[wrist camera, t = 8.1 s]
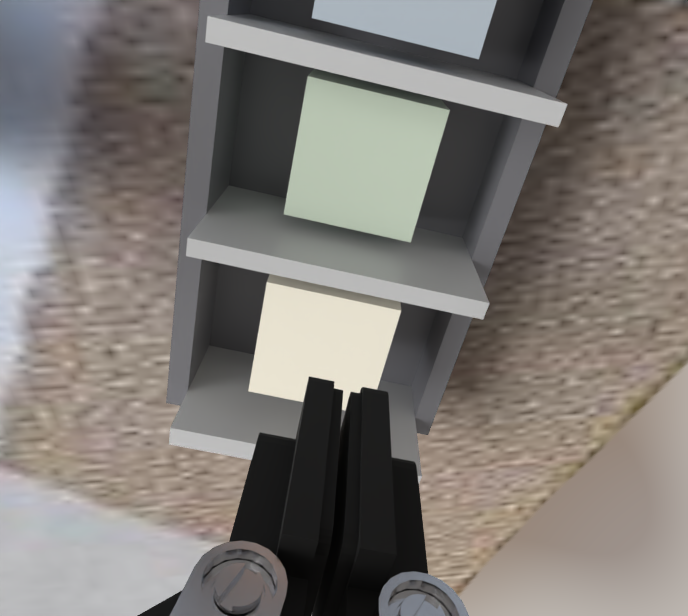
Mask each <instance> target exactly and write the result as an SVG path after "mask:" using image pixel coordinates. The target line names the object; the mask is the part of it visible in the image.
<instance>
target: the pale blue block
mask: <svg viewBox="0 0 688 616" xmlns="http://www.w3.org/2000/svg"><path fill="white" fill-rule="evenodd" d="M496 2H497V0H315V2H314V8H313V13H312V18H314V19H318V20H322V21H326V22H330V23H334V24H338V25H342V26H346V27H350V28H354V29H358V30H362V31H366V32H370V33H375V34H379V35H383V36H387V37H391V38H395V39H399V40H403V41H407V42H411V43H415V44H419V45H423V46H427V47H431V48H435V49H439V50H443V51H447V52H451V53H455V54H459V55H463V56H467V57H471V58H476V59H479V57H480V54H481V50H482V47H483V44H484V41H485V37H486V34H487V31H488V28H489V24H490V21H491V18H492V15H493V11H494V8H495V5H496Z"/></svg>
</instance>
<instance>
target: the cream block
mask: <svg viewBox="0 0 688 616" xmlns="http://www.w3.org/2000/svg"><path fill="white" fill-rule="evenodd" d="M400 314H401V303H400V302H398V301H394V300H389V299H384V298H380V297H375V296H370V295H366V294H361V293H356V292H352V291H347V290H342V289H338V288H333V287H328V286H324V285H319V284H314V283H310V282H305V281H300V280H296V279H291V278H286V277H282V276H277V275H272V274H270V275H269V277H268V280H267V284H266V290H265V296H264V301H263V307H262V313H261V319H260V325H259V331H258V337H257V343H256V348H255V354H254V360H253V366H252V372H251V378H250V384H249V390H248V391H249V392H254V393H259V394H264V395H269V396H275V397H280V398H285V399H290V400H295V401H300V402H303V401H304V397H305V392H306V387H307V383H308V378H309V376H310V377H315V378H320V379H325V380H330V381H334V388H335V389H340V390H343V402H342V410H345V411H346V407H347V403H348V399H349V396H350V393H351V392H355V393H360V390H361V388H362V387H366V388H371V389H376V390H377V388H378V385H379V382H380V378H381V375H382V372H383V369H384V365H385V362H386V359H387V356H388V353H389V349H390V346H391V343H392V340H393V336H394V333H395V330H396V327H397V323H398V320H399V317H400Z"/></svg>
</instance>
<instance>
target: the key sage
mask: <svg viewBox="0 0 688 616" xmlns="http://www.w3.org/2000/svg"><path fill="white" fill-rule="evenodd" d="M449 112H450V110H449V109H448V107H447V106H446V105H445V104H444V102H443V101H442V100H441V99H439V98H435V97H431V96H426V95H422V94H418V93H414V92H410V91H406V90H402V89H397V88H393V87H389V86H385V85H381V84H377V83H373V82H368V81H364V80H360V79H356V78H352V77H348V76H344V75H339V74H335V73H331V72H327V71H323V70H319V69H314V70H313V71H312V72H311V73H310V74H309V75H308V77H307V83H306V89H305V94H304V100H303V106H302V112H301V117H300V123H299V129H298V134H297V140H296V146H295V152H294V157H293V163H292V169H291V174H290V180H289V186H288V192H287V197H286V203H285V209H284V215H289V216H293V217H298V218H302V219H307V220H311V221H316V222H320V223H325V224H329V225H334V226H338V227H343V228H347V229H352V230H356V231H361V232H365V233H370V234H374V235H379V236H383V237H388V238H392V239H397V240H401V241H406V242H410V243H411V240H412V236H413V233H414V230H415V226H416V223H417V219H418V216H419V213H420V209H421V206H422V203H423V199H424V196H425V192H426V189H427V186H428V182H429V179H430V176H431V172H432V169H433V166H434V162H435V159H436V155H437V152H438V149H439V145H440V142H441V139H442V135H443V132H444V128H445V125H446V122H447V118H448V115H449Z"/></svg>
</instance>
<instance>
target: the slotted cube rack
mask: <svg viewBox="0 0 688 616" xmlns="http://www.w3.org/2000/svg"><path fill="white" fill-rule="evenodd" d="M314 2H315V0H200V5H199V17H198V29H197V41H196V53H195V65H194V77H193V89H192V101H191V113H190V125H189V137H188V149H187V161H186V172H185V184H184V196H183V208H182V220H181V232H180V244H179V256H178V268H177V280H176V292H175V304H174V316H173V328H172V340H171V352H170V364H169V376H168V388H167V400H166V403H170V404H175V405H180V409H179V411H178V413H177V415H176V417H175V419H174V421H173V423H172V425H171V428H170V438H169V444H170V445H175V446H181V447H186V448H191V449H196V450H201V451H207V452H212V453H217V454H222V455H228V456H233V457H238V458H243V459H249V460H252V457H253V453H254V449H255V446H256V442H257V439H258V435H259V433H260V432H261V433H266V434H272V435H277V436H282V437H287V438H293V439H296V434H297V430H298V425H299V420H300V415H301V411H302V406H303V402H300V401H295V400H290V399H285V398H280V397H275V396H269V395H264V394H259V393H254V392H249V391H248V390H249V384H250V378H251V372H252V366H253V360H254V354H255V348H256V343H257V337H258V331H259V325H260V319H261V313H262V307H263V301H264V296H265V290H266V284H267V280H268V277H269V275H270V274H272V275H277V276H282V277H286V278H291V279H296V280H300V281H305V282H310V283H314V284H319V285H324V286H328V287H333V288H338V289H342V290H347V291H352V292H356V293H361V294H366V295H370V296H375V297H380V298H384V299H389V300H394V301H398V302H400V303H401V314H400V317H399V320H398V323H397V327H396V330H395V333H394V336H393V340H392V343H391V346H390V349H389V353H388V356H387V359H386V362H385V365H384V369H383V372H382V375H381V378H380V382H379V385H378V388H377V390H382V391H387V392H388V395H389V413H390V433H391V453H392V457H393V458H398V459H404V460H409V461H414V462H415V464H416V467H417V474H418V483H419V482H420V479H421V477H422V474H421V465H420V457H419V448H418V439H417V433H420V434H425V435H428V433H429V431H430V428H431V425H432V423H433V420H434V417H435V415H436V412H437V410H438V407H439V404H440V402H441V399H442V396H443V394H444V391H445V388H446V386H447V383H448V381H449V378H450V375H451V373H452V370H453V367H454V365H455V362H456V360H457V357H458V354H459V352H460V349H461V346H462V344H463V341H464V339H465V336H466V333H467V331H468V328H469V325H470V323H471V320H472V318H478V319H482V320H483V319H484V316H485V314H486V311H487V309H488V306H489V301H488V298H487V296H486V293H485V291H484V286H485V283H486V281H487V278H488V275H489V273H490V270H491V268H492V265H493V262H494V260H495V257H496V254H497V252H498V249H499V247H500V244H501V241H502V239H503V236H504V233H505V231H506V228H507V226H508V223H509V220H510V218H511V215H512V212H513V210H514V207H515V205H516V202H517V199H518V197H519V194H520V191H521V189H522V186H523V183H524V181H525V178H526V176H527V173H528V170H529V168H530V165H531V162H532V160H533V157H534V155H535V152H536V149H537V147H538V144H539V141H540V139H541V136H542V134H543V131H544V128H545V126H546V124H547V125H551V126H555V127H559V125H560V122H561V120H562V117H563V115H564V112H565V110H566V107H567V103H564V102H562V101H560V100H558V99H556V97H557V94H558V92H559V89H560V86H561V84H562V81H563V78H564V76H565V73H566V70H567V68H568V65H569V63H570V60H571V57H572V55H573V52H574V49H575V47H576V44H577V42H578V39H579V36H580V34H581V31H582V28H583V26H584V23H585V21H586V18H587V15H588V13H589V10H590V7H591V5H592V2H593V0H497V2H496V5H495V8H494V11H493V15H492V18H491V21H490V24H489V28H488V31H487V34H486V37H485V41H484V44H483V47H482V50H481V54H480V57H479V59H476V58H471V57H467V56H463V55H459V54H455V53H451V52H447V51H443V50H439V49H435V48H431V47H427V46H423V45H419V44H415V43H411V42H407V41H403V40H399V39H395V38H391V37H387V36H383V35H379V34H375V33H370V32H366V31H362V30H358V29H354V28H350V27H346V26H342V25H338V24H334V23H330V22H326V21H322V20H318V19H314V18H312V13H313V8H314ZM314 69H319V70H323V71H327V72H331V73H335V74H339V75H344V76H348V77H352V78H356V79H360V80H364V81H368V82H373V83H377V84H381V85H385V86H389V87H393V88H397V89H402V90H406V91H410V92H414V93H418V94H422V95H426V96H431V97H435V98H439V99H441V100H442V101H443V102H444V104H445V105H446V106H447V107H448V109H449V110H450V112H449V115H448V118H447V122H446V125H445V128H444V132H443V135H442V139H441V142H440V145H439V149H438V152H437V155H436V159H435V162H434V166H433V169H432V172H431V176H430V179H429V182H428V186H427V189H426V192H425V196H424V199H423V203H422V206H421V209H420V213H419V216H418V219H417V223H416V226H415V230H414V233H413V236H412V240H411V243H410V242H406V241H401V240H397V239H392V238H388V237H383V236H379V235H374V234H370V233H365V232H361V231H356V230H352V229H347V228H343V227H338V226H334V225H329V224H325V223H320V222H316V221H311V220H307V219H302V218H298V217H293V216H289V215H284V209H285V203H286V197H287V192H288V186H289V180H290V174H291V169H292V163H293V157H294V152H295V146H296V140H297V134H298V129H299V123H300V117H301V112H302V106H303V100H304V94H305V89H306V83H307V77H308V75H309V74H310V73H311V72H312V71H313V70H314ZM344 415H345V410H342V415H341V426H342V422H343V419H344ZM340 430H341V429H340Z"/></svg>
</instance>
